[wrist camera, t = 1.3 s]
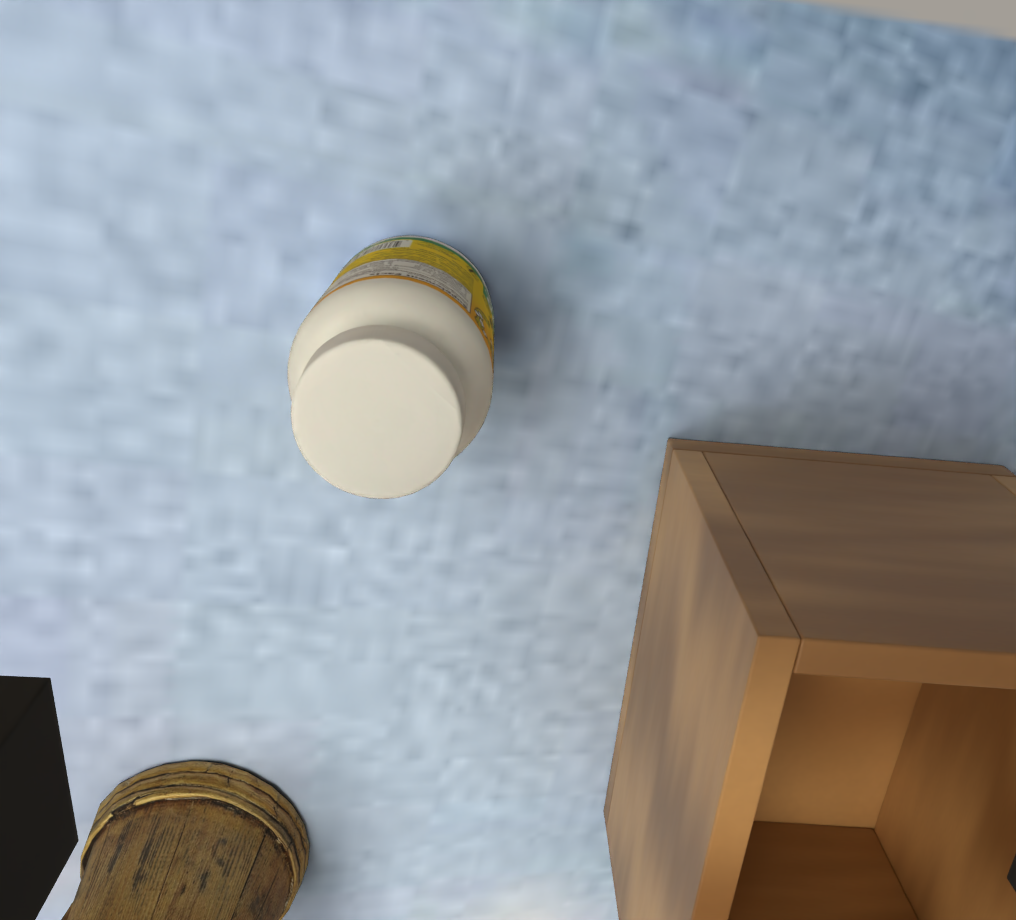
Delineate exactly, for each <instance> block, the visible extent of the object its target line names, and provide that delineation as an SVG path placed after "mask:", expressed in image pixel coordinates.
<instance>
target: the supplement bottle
mask: <svg viewBox="0 0 1016 920" xmlns="http://www.w3.org/2000/svg"><path fill="white" fill-rule="evenodd" d="M494 327H495V326H494V313H493V307H492V303H491V299H490V296H489V293H488V289H487V287H486V284H485V282H484V280H483V278H482V276H481V275H480V273H479V271H478V270H477V269H476V267H475V266H474V265H473V264H472V263H471V262H470V261H469V260H468V259H467V258H466V257H465V256H464V255H463V254H462V253H460V252H459V251H457V250H456V249H454V248H453V247H451V246H449V245H447V244H445V243H442V242H440V241H437V240H435V239H431V238H427V237H421V236H408V235H406V236H395V237H391V238H387V239H383V240H381V241H378V242H376V243H373V244H371V245H370V246H368V247H366V248H364V249H363V250H362V251H360V252H359V253H358V254H356V255H355V256H354V257H353V258H352V259H351V260H350V261H349V262H348V263H347V264H346V265H345V266H344V267H343V269H342V270H341V271H340V273H339V274H338V275H337V277H336V278H335V280H334V281H333V283H332V284H331V285H330V287H329V288H328V289H327V290H326V292H325V293H324V294H323V295H322V297H321V298H320V299H319V300H318V302H317V303H316V304H315V306H314V307H313V308H312V310H311V311H310V312H309V314H308V315H307V317H306V318H305V319H304V321H303V323H302V324H301V326H300V328H299V329H298V332H297V334H296V336H295V338H294V341H293V344H292V347H291V351H290V355H289V361H288V386H289V392H290V397H291V401H292V405H291V421H292V428H293V433H294V437H295V440H296V442H297V445H298V447H299V449H300V451H301V453H302V455H303V456H304V458H305V459H306V461H307V462H308V464H309V465H310V466H311V467H312V468H313V469H314V470H315V471H316V472H317V473H318V474H319V475H320V476H321V477H322V478H324V479H325V480H326V481H328V482H329V483H331V484H332V485H333V486H335V487H337V488H339V489H341V490H343V491H345V492H348V493H351V494H354V495H358V496H362V497H366V498H378V499H389V498H398V497H402V496H406V495H409V494H412V493H415V492H417V491H419V490H421V489H423V488H425V487H426V486H428V485H430V484H431V483H432V482H434V481H435V480H436V479H437V478H438V477H439V476H440V475H441V474H442V473H443V472H444V471H445V470H446V469H447V468H448V466H449V465H450V463H451V462H452V460H453V458H455V457H456V456H457V455H458V454H460V453H461V452H462V451H463V450H464V449H465V448H466V447H467V446H468V445H469V444H470V443H471V441H472V440H473V439H474V438H475V436H476V435H477V433H478V432H479V430H480V428H481V427H482V425H483V423H484V420H485V418H486V416H487V413H488V410H489V407H490V403H491V398H492V390H493V373H494V370H493V369H494Z"/></svg>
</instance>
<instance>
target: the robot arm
mask: <svg viewBox="0 0 1016 920" xmlns="http://www.w3.org/2000/svg"><path fill="white" fill-rule="evenodd" d="M77 842H78V835H77V829H76V824H75V818H74V812H73V806H72V800H71V795H70V789H69V783H68V777H67V772H66V766H65V760H64V754H63V748H62V743H61V737H60V731H59V725H58V719H57V714H56V708H55V702H54V696H53V690H52V685H51V679H50V678H40V677H18V676H0V920H35V919H36V917H37V916H38V914H39V912H40V910H41V908H42V906H43V905H44V903H45V901H46V899H47V897H48V895H49V894H50V892H51V890H52V888H53V886H54V884H55V883H56V881H57V879H58V877H59V875H60V873H61V872H62V870H63V868H64V866H65V864H66V862H67V861H68V859H69V857H70V855H71V853H72V851H73V850H74V848H75V846H76V844H77ZM1007 879H1008V881H1009V882H1010V884H1011V886H1012V887H1013V889H1014V890H1015V892H1016V854H1015V857H1014V859H1013V862H1012V865H1011V867H1010V870H1009V872H1008V875H1007Z"/></svg>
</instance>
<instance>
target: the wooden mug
mask: <svg viewBox="0 0 1016 920" xmlns="http://www.w3.org/2000/svg"><path fill="white" fill-rule="evenodd" d="M308 855H309V842H308V838H307V834H306V830H305V826H304V823H303V822H302V820H301V819H300V817H299V815H298V814H297V812H296V811H295V809H294V807H293V806H292V804H291V803H290V802H288V801H287V800H286V799H285V798H284V797H283V796H282V795H281V794H280V793H279V792H278V791H277V790H276V789H274V788H273V787H272V786H270V785H269V784H267V783H265V782H263V781H262V780H260V779H258V778H257V777H255V776H253V775H251V774H250V773H248V772H245V771H242V770H239V769H236V768H233V767H230V766H227V765H224V764H221V763H211V762H200V761H189V762H181V763H173V764H165V765H162V766H159V767H156V768H153V769H150V770H147V771H144V772H142V773H140V774H138V775H136V776H134V777H132V778H130V779H128V780H126V781H124V782H122V783H120V784H119V785H118V786H117V787H116V788H115V789H114V790H113V791H112V792H111V793H110V794H109V795H108V796H107V797H106V798H105V799H104V801H103V802H102V803H101V804H100V806H99V809H98V812H97V814H96V817H95V820H94V823H93V825H92V828H91V831H90V833H89V836H88V839H87V842H86V844H85V847H84V850H83V853H82V855H81V867H80V878H81V882H80V885H79V888H78V891H77V894H76V896H75V899H74V901H73V903H72V904H71V906H70V907H69V909H68V910H67V912H66V913H65V915H64V916H63V918H62V919H61V920H281V919H282V918H283V917H284V915H285V914H286V913H287V912H288V910H289V908H290V906H291V904H292V902H293V900H294V898H295V896H296V894H297V892H298V889H299V887H300V885H301V883H302V880H303V877H304V874H305V871H306V868H307V865H308Z"/></svg>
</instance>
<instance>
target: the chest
mask: <svg viewBox="0 0 1016 920" xmlns="http://www.w3.org/2000/svg"><path fill="white" fill-rule="evenodd" d="M604 817H605V824H606V831H607V838H608V845H609V852H610V860H611V867H612V874H613V881H614V888H615V895H616V902H617V909H618V917H619V920H1016V892H1015V890H1014V889H1013V887H1012V886H1011V884H1010V882H1009V881H1008V879H1007V875H1008V872H1009V870H1010V867H1011V865H1012V862H1013V859H1014V857H1015V854H1016V475H1015V474H1013V473H1012V472H1011V471H1010V470H1008V469H1007V468H1006V467H1004V466H1002V465H990V464H978V463H965V462H953V461H941V460H929V459H916V458H904V457H892V456H880V455H867V454H855V453H843V452H831V451H818V450H806V449H794V448H782V447H769V446H757V445H745V444H733V443H720V442H708V441H696V440H684V439H671V438H669V439H668V441H667V447H666V453H665V459H664V464H663V470H662V476H661V482H660V488H659V493H658V499H657V505H656V511H655V517H654V522H653V528H652V534H651V540H650V545H649V551H648V557H647V563H646V569H645V574H644V580H643V586H642V592H641V598H640V603H639V609H638V615H637V621H636V627H635V632H634V638H633V644H632V650H631V655H630V661H629V667H628V673H627V679H626V684H625V690H624V696H623V702H622V708H621V713H620V719H619V725H618V731H617V737H616V742H615V748H614V754H613V760H612V766H611V771H610V777H609V783H608V789H607V794H606V800H605V806H604Z"/></svg>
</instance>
